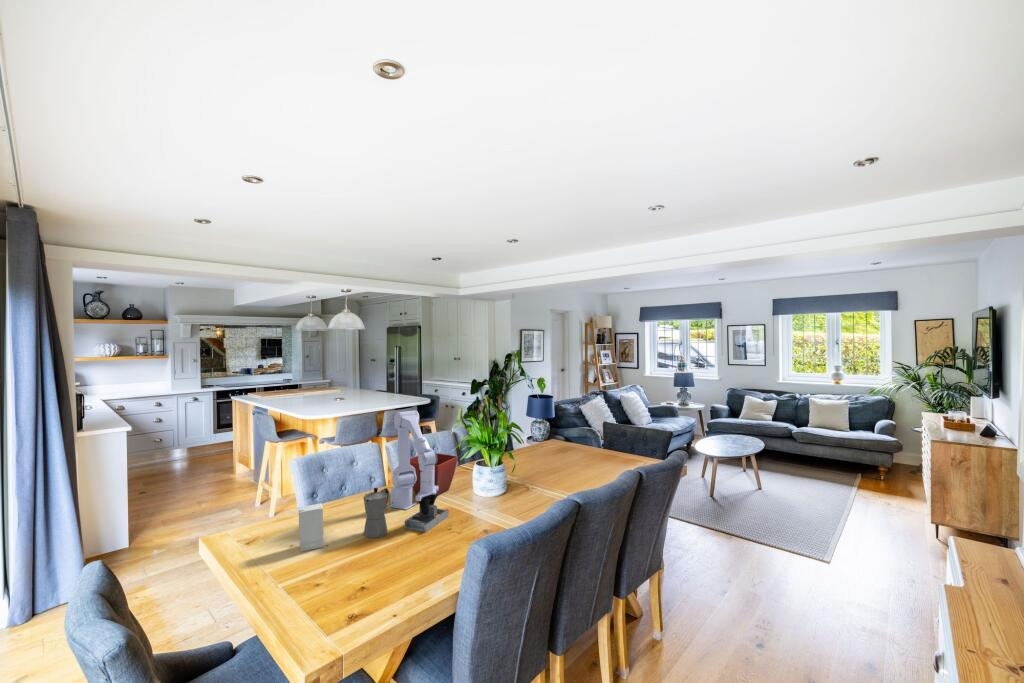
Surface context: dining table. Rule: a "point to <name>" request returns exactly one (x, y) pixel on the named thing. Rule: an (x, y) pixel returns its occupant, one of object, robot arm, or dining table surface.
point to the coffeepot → (375, 513)
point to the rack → (425, 521)
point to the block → (429, 511)
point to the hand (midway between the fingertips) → (427, 512)
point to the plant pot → (437, 472)
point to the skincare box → (311, 527)
